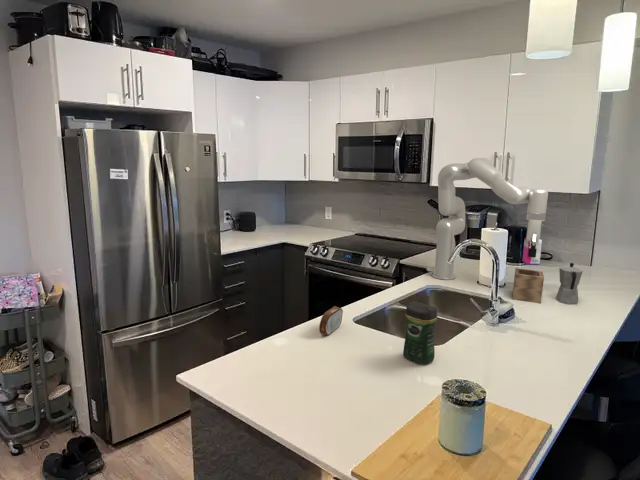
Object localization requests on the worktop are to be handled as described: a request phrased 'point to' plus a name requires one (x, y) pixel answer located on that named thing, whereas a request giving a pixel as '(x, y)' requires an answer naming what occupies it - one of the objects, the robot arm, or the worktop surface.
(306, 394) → the worktop surface
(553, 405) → the worktop surface
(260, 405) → the worktop surface
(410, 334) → the coffee jar
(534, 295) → the wooden box
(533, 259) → the supplement box
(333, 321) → the tin
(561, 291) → the coffeepot
